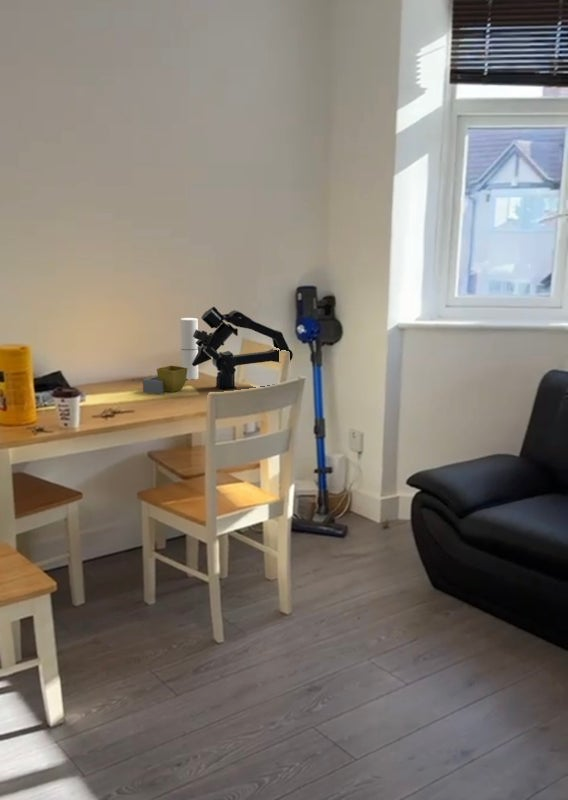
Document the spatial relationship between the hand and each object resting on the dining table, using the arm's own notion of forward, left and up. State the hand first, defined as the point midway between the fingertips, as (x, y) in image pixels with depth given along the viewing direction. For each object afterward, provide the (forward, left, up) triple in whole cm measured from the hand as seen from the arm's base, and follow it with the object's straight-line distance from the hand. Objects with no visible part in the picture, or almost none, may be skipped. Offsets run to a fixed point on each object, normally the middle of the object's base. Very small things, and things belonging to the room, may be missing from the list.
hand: (192, 365), depth 303 cm
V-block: (+15, -5, -10) cm, 19 cm away
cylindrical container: (-10, -20, -10) cm, 24 cm away
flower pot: (+8, -2, -10) cm, 13 cm away
